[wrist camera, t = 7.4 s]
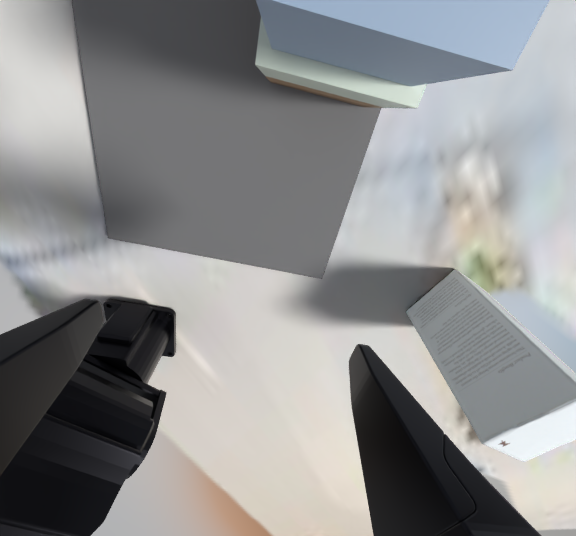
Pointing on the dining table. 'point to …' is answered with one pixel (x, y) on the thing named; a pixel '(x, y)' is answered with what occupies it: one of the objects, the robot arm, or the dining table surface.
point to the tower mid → (333, 78)
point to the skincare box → (497, 369)
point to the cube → (405, 35)
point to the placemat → (213, 136)
